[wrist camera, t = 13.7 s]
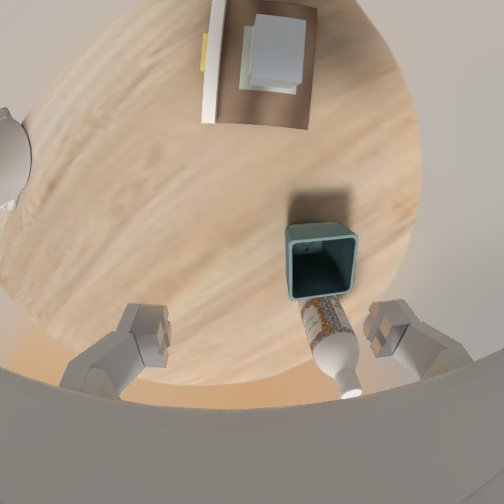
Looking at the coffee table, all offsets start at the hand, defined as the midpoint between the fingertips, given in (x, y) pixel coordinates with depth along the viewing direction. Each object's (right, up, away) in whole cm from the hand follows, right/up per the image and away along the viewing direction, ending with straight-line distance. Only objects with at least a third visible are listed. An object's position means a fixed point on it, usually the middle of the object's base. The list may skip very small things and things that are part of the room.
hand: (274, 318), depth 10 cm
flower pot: (+7, +5, +31) cm, 32 cm away
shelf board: (0, +27, +18) cm, 32 cm away
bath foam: (+11, -6, +37) cm, 39 cm away
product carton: (+1, +26, +17) cm, 31 cm away
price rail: (-5, +26, +16) cm, 31 cm away
